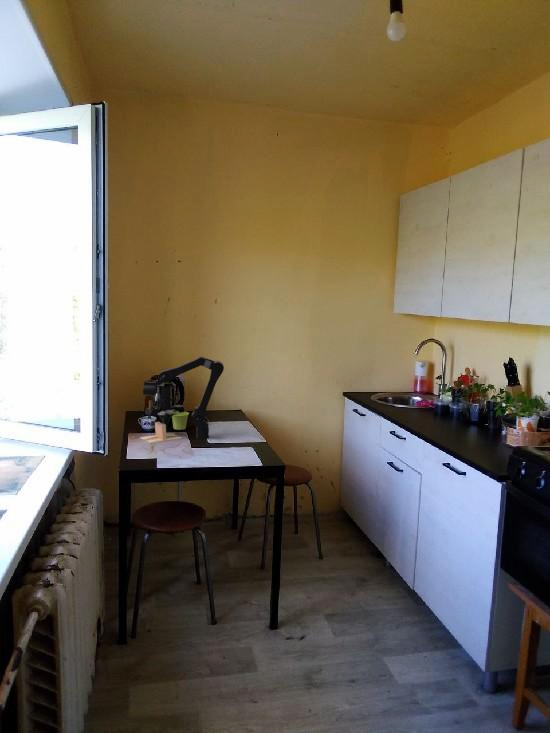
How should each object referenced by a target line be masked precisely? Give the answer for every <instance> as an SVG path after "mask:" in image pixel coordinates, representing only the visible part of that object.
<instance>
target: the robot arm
mask: <svg viewBox="0 0 550 733" xmlns="http://www.w3.org/2000/svg"><path fill="white" fill-rule="evenodd" d="M201 366H202V367H204V368H206V369H207V370H210V375H209V378H208V379H209V380H208V382H207V385H206V387H205V388H204V391H203V394H202V397H201V400H200V403H199V405H198V406H196V405H195V406H194V410H193V412H192V413H191V417H192V422H193V424H195V425H196V432H195V437H196V439H198V440H207V439H209V434H210V433H209V432H210V427H209V425H210V421H209V419H208V418H207V417H206V413H207V407H208V405H209V403H210V400H211V397H212V394H213V392H214V389H215V387H216V384H217V381H218V380H219V379H220V377H221V375H222V374H223V373H224V369H225V366H224V364H223V362H222V361H220V360H216V361H215V360H213V359H210V358H206V357H204V356H199V357H197V358H194V359H193V360H190V361H188V362H186V363H182V364H180V365H179V366H176V367H170V368H167V369H163V370H161V372H160V373H159V375H158V378H157V379H156V380H155V381H144V382H143V389H142V394H143V396H145V397H147V396H149V397H150V396H151V397H155V396H157V395H158V394H159V395H158V397H157V400H155V399H150V401H149V406H150V407H146V408H145V409H144V414H145V416H149V417H154V416H158V417H159V419H160V421H161V423H163V424H165V425H166V428H167V427H168V425H169V423H170V420H171V419H172V416H173V415H174V414H173V412H179V413H182V412H186V411H185V410H186V408H185V406H184V405H181V404H175V405H172V402H173V400H174V399H173V398H172V388H176V384H175V383H174V381H173V380H174V379H175V378H176V377H178V376H180V375H182V374H185V373H187V372H189V371H192V370H193V369H197V368H199V367H201ZM169 382H170V383H169Z"/></svg>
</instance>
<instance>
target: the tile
mask: <svg viewBox="0 0 550 733" xmlns="http://www.w3.org/2000/svg"><path fill="white" fill-rule="evenodd" d="M154 428H155V429H154V430H155V435H156V437H158V438H160V439H167V437H166V433H167V427H166V425H165V424H163V423H162V422H160V421H156V422H154Z"/></svg>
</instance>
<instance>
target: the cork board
mask: <svg viewBox="0 0 550 733" xmlns="http://www.w3.org/2000/svg"><path fill="white" fill-rule="evenodd" d="M166 437H167V439H160V438H158V437H156V434H155V435H147V436H139V439H142V440H144V441H146V442H148V443H150V444H154V443H155V444H156V443H160V442H166V441H172V440H173V441H174V440H180V439H183V437H181V436H179V435H177V434H175V433H172V432H166Z"/></svg>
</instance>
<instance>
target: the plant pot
mask: <svg viewBox="0 0 550 733" xmlns="http://www.w3.org/2000/svg"><path fill="white" fill-rule="evenodd" d="M173 414H174V415H173V416H172V417H171V419H172V428H173V429H174V430H177V431H180V430H182V431H183V430H186V428H187V422H188V417H189V415H190V413H189V412H187V411H185V412H182V413H179V412H178V411H173Z"/></svg>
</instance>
